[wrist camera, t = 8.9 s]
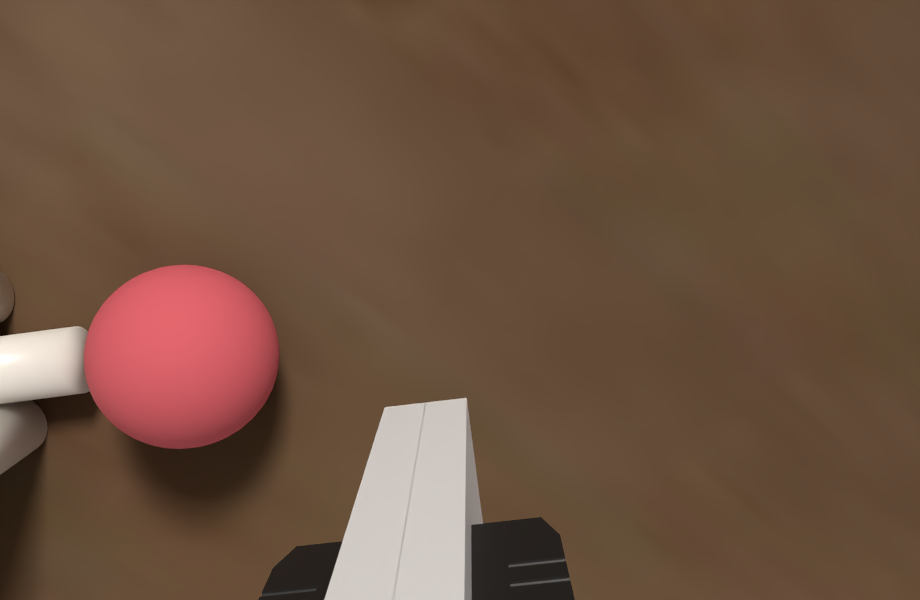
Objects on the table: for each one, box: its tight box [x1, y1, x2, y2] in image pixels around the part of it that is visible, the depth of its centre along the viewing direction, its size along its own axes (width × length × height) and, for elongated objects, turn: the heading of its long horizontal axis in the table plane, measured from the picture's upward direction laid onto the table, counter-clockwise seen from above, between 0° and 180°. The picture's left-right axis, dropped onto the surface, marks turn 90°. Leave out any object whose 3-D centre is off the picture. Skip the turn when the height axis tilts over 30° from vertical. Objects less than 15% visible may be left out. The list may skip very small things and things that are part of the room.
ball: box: [84, 265, 280, 449], centre depth 25 cm, size 6×6×6 cm
